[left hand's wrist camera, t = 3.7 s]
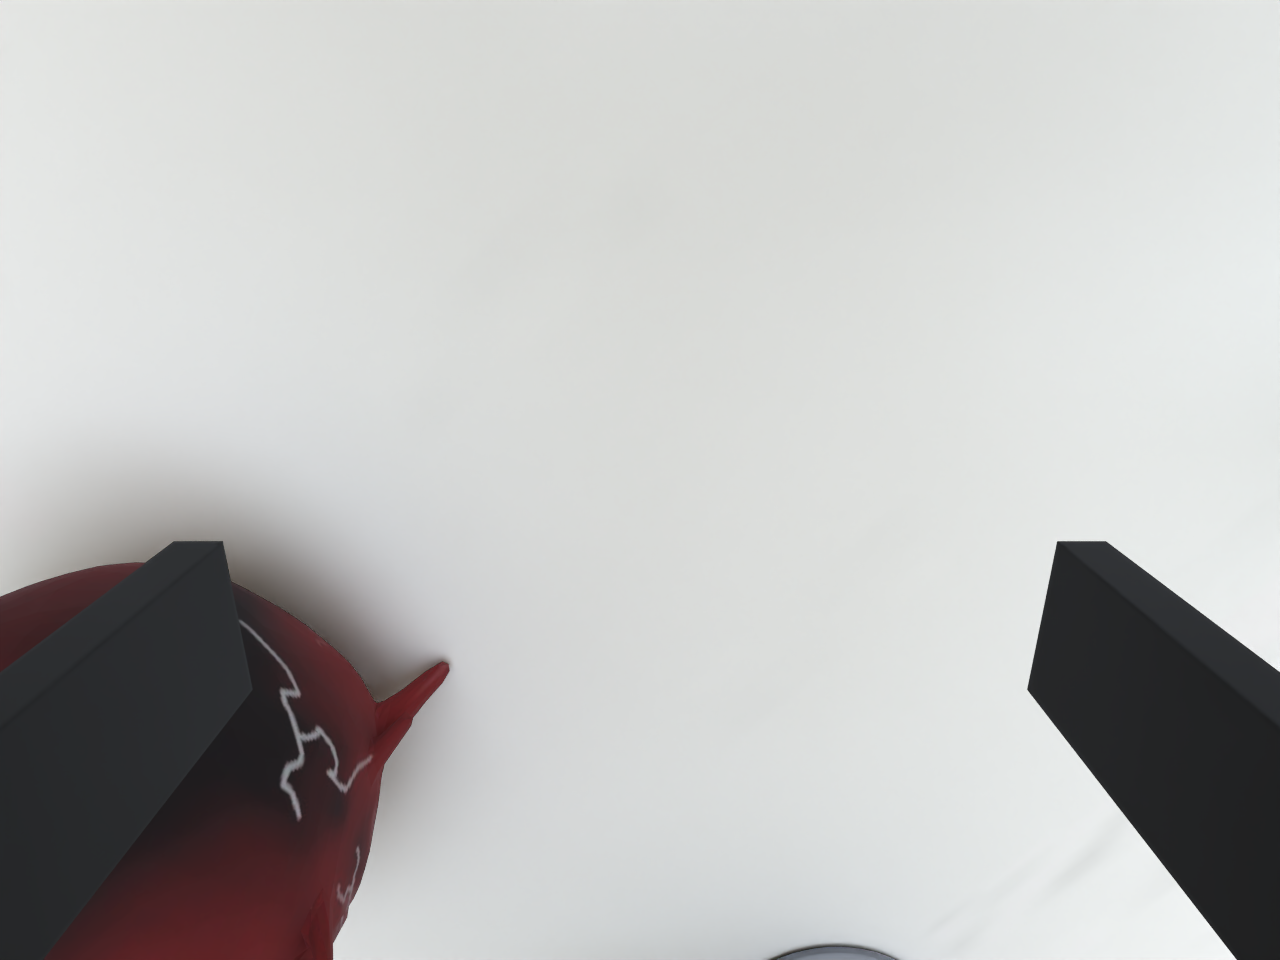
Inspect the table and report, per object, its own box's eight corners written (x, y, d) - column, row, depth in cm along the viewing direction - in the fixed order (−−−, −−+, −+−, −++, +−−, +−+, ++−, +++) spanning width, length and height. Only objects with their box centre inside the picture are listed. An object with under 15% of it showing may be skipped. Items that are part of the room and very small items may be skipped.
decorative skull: (138, 1195, 40) (402, 1125, 28) (-460, 1079, 30) (-459, 895, 18) (301, 800, 56) (511, 647, 44) (-54, 645, 47) (89, 396, 35)
